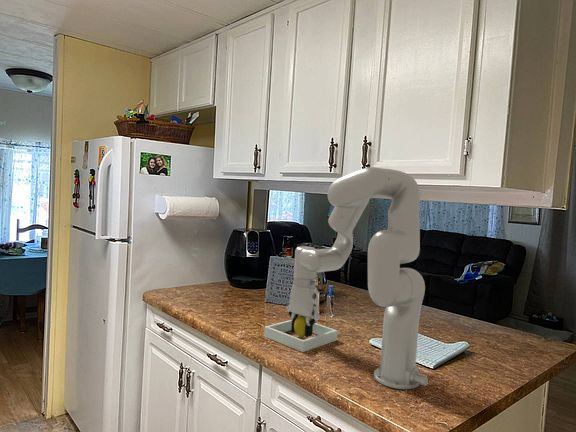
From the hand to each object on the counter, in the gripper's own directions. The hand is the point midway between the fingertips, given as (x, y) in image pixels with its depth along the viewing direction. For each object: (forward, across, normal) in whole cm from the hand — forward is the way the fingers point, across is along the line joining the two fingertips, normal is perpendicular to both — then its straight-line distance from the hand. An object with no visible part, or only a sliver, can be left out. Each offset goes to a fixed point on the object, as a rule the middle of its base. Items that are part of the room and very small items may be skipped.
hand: (301, 333), depth 149 cm
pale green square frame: (+2, 0, 0) cm, 2 cm away
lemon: (+2, 0, 0) cm, 2 cm away
